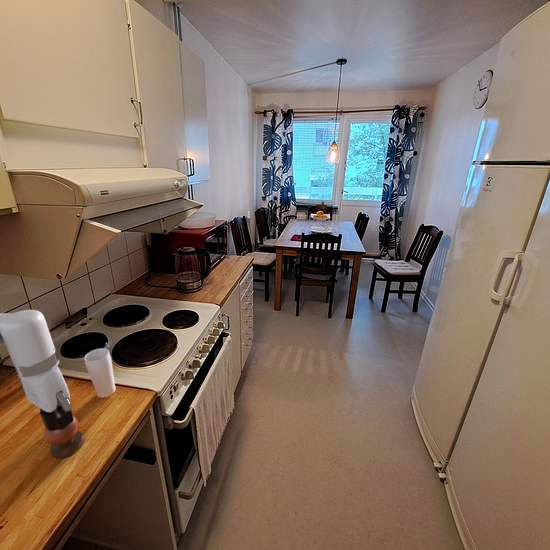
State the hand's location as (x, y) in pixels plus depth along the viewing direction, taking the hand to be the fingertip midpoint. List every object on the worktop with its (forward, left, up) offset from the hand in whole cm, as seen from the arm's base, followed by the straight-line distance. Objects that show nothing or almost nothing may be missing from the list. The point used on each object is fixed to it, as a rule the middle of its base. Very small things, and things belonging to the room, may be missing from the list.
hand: (58, 419), depth 72 cm
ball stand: (0, 0, -9) cm, 9 cm away
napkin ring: (0, 0, 0) cm, 1 cm away
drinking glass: (+17, +8, -10) cm, 21 cm away
